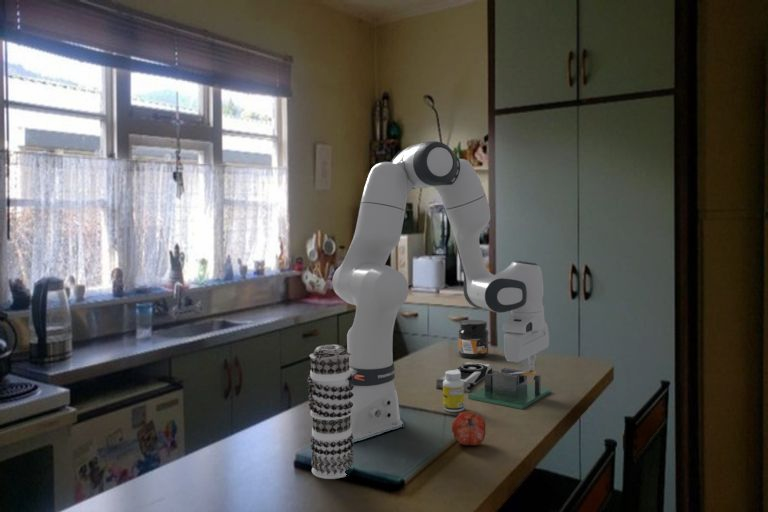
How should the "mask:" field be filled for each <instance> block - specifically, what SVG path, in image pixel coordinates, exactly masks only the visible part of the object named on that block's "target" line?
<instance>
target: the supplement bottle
mask: <svg viewBox="0 0 768 512" xmlns="http://www.w3.org/2000/svg"><path fill="white" fill-rule="evenodd" d="M444 373H445V374H444V376H445V378H446V380H444V381H443V388H442V399H443V400H442V405H443V407H442V408H443V410H444V411H446V412H449V413H459V412H460V413H461V412H463V411H464V410H465V392H464V383H463V381H462V380H461V379H460V378H461V372H460V371H457V370H456V369H452V370H451V369H450V370H446V371H445V372H444Z"/></svg>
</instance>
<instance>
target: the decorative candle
mask: <svg viewBox="0 0 768 512" xmlns="http://www.w3.org/2000/svg"><path fill="white" fill-rule="evenodd" d="M349 356H350V353H349V352H347V348H345V346H343V345H340V344H323V345H319V346H317V347H316V348H315V349H314V351H313V353H310V354H309V357H310V368H311V369H310V371H309V373H310V374H309V375H308V376H307V377H308V378H307V379H306V382H307V383H308V385H307V392H308V393H309V395H308V396H307V397H308V400H309V403H308V406H309V410H310V412H309V415H310V416H311V417H312V427H311V436H310V442H311V445H310V449H311V450H312V451H311V453H310V457H311V462H310V463H311V467H312V468H311V474H313V476H315V477H317V478H319V479H324V480H336V479H340V478H345V477H347V476H346V475H347V474H346V473H345V471H346V470H348V469H349V466H350V467H351V466H352V465H353V464H354V462H355V461H354V455H355V453H354V449H353V447H354V442H352V439H353V435H352V430H351V425H350V415H351V414H352V409H351V407H352V406H353V403H352V402H350V401H349V399H350V398H351V397H353V393H352V392H350V390H352V389H353V388H354V386H353V385H351V383H350V384H349V381H350V380H352V379H353V378H354V376H353V375H351V374H350V368H349ZM353 466H354V465H353Z"/></svg>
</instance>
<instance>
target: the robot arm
mask: <svg viewBox="0 0 768 512" xmlns="http://www.w3.org/2000/svg"><path fill="white" fill-rule="evenodd" d="M431 187H432V188H434V189H435V190H436V191H437V193H438V194H439V196H440V197H441V201H442V204H443V209H444V210H445V213H446V217H447V220H448V222H449V225H450V228H451V231H452V235H453V239H454V242H455V243H454V244H455V246H456V251H457V254H458V258H459V262H460V266H461V268H462V273H463V286H462V287H463V295H464V298H465V300H466V301H467V302H468V304H469V305H471V306H472V307H475V308H476V309H484V310H486V311H490V312H493V313H499V314H500V313H506V312H510V314H509V316H508V317H507V319H506V320H505V321H504V322H503V324H502V331H503V333H504V332H505V333H504V335H503V347H504V350H503V352H504V357H505V360H506V361H507V362H509V363H510V362H511V363H515V364H516V363H521V364H522V367H523V368H522V371H524V372H530V371H534V370H535V363H536V360H537V354H538V353H540V352H542V351H544V350H546V349H547V348H549V345H550V333H549V326H548V323H547V322H546V319H545V306H544V305H543V297H544V279H543V272H542V269H541V267H540V265H538V264H537V263H536V262H530V261H523V260H514V261H512V262H511V264H510V265H509V266H507V267H506V268H504V269H503V270H502V271H499V272H498V273H495V274H493V273H491V272H490V271H489V270H488V268H487V265H486V263H485V260H484V256H483V252H482V248H481V244H480V238H481V237H480V236H481V234H482V232H483V231H484V230H485V229H486V228H487V226H488V225H489V223H490V222H491V221H490V220H491V217H492V216H491V208H490V205H489V204H490V203H489V200H488V198H487V195H486V192H485V189H484V186H483V184H482V182H481V180H480V178H479V176H478V174H477V172H476V170H475V167H474V166H473V165H472V163H471V162H470V161H469V160H467V159H465V158H458V157H457V155H456V154H455V153H454V151H453V150H452V148H451V147H450V146H448V145H447V144H446V143H443V142H440V141H435V140H430V141H426V142H422V143H415V144H412V145H410V146H408V147H405V148H402V149H401V150H399V151H398V152H397V153H396V154H395V155H394V156H393V158H392V159H391V161H382V162H379V163H376V164H375V165H373V166H372V168H371V169H370V170H369V173H368V175H367V178H366V181H365V185H364V188H363V191H362V194H361V195H362V196H361V200H360V203H359V210H358V216H357V221H356V226H355V231H354V233H353V238H352V240H351V243H350V245H349V248H348V250H347V252H346V255H345V257H344V259H343V261H342V263H341V265H339V267H338V268H336V270H335V271H334V274H333V276H332V280H331V281H332V283H331V284H332V289H333V291H334V293H335V294H336V296H338V297H339V298H340V299H341V300H343V301H344V302H345V303H347V304H349V305H353V306H355V315H354V319H353V323H352V326H351V327H350V328H349V329H348V331H347V334H346V343H347V345H346V346H347V347H346V351H347V352H349V353H350V356H349V368H350V374H351V375H353V376H354V378H353V379H352V380H350V381H349V384H350V383H351V385H353V386H354V388H353V389H352V390H350V392H352V393H353V397H351V398H350V399H349V401H350V402H352V403H353V406H352V407H351V409H352V414H351V415H350V425H351V430H352V435H353V439H357V438H362V437H365V436H368V435H371V434H374V433H376V432H380V431H382V430H386V429H389V428H392V427H395V426H399V425H402V424H403V425H404V422H403V421H402V420H401V416H400V414H401V413H400V407H399V406H400V405H399V399H398V398H399V396H398V392H397V389H396V386H395V382H394V379H395V377H396V376H395V374H396V368H395V363H394V362H393V360H394V359H393V355H394V354H393V344H394V343H393V337H394V336H393V335H394V328H395V323H396V318H397V316H398V312H399V310H400V308H401V307H402V306H403V304H405V302H406V301H407V298H408V295H409V283H408V282H409V281H408V279H407V278H406V276H405V275H404V274H403V273H402V272H400V271H399V270H398V269H396V268H394V267H392V266H390V265H387V264H386V263H387V261H388V259H389V256H390V254H391V253H392V251H393V250H395V248H396V247H397V246H398V245H399V243H400V241H401V236H402V230H403V225H404V219H405V216H406V215H405V213H406V207H407V201H408V200H407V199H408V197H409V194H410V193H411V191H412V190H415V189H428V188H431ZM392 423H394V424H397V425H392ZM370 432H371V433H370Z"/></svg>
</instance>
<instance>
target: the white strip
mask: <svg viewBox="0 0 768 512" xmlns="http://www.w3.org/2000/svg"><path fill="white" fill-rule="evenodd" d="M491 374H492V373H491ZM507 374H513V375H519V376H527V377H528V376H535V374H536V375H537V370H535V369H534V370H532V371H530V372H513V373H507ZM492 375H493V374H492Z"/></svg>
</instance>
